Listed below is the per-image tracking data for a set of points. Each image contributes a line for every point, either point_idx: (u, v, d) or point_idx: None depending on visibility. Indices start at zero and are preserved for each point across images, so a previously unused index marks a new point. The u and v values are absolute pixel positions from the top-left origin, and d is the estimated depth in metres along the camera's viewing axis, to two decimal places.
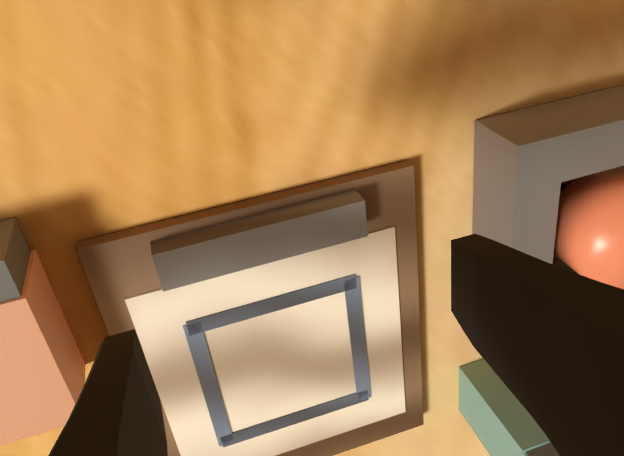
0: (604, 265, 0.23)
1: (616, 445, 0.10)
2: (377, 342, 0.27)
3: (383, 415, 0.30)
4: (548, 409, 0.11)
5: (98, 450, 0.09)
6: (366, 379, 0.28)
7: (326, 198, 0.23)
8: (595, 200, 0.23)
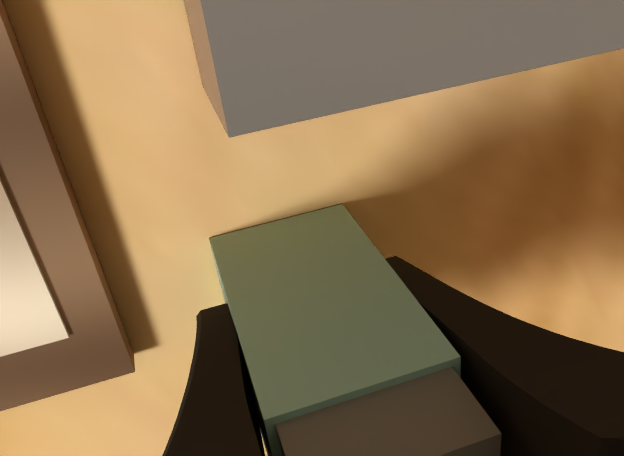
0: None
1: None
2: None
3: (7, 344, 0.12)
4: None
5: (229, 409, 0.09)
6: None
7: None
8: None
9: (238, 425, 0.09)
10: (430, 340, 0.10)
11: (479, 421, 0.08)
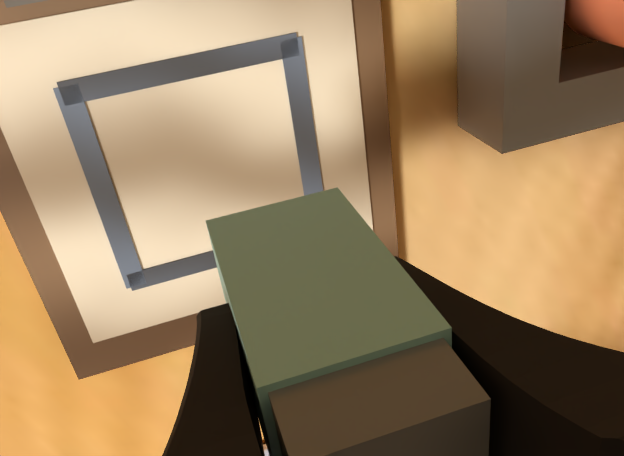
0: None
1: None
2: (332, 149, 0.21)
3: None
4: None
5: (229, 409, 0.09)
6: None
7: None
8: None
9: (238, 424, 0.09)
10: (422, 313, 0.10)
11: (469, 388, 0.08)
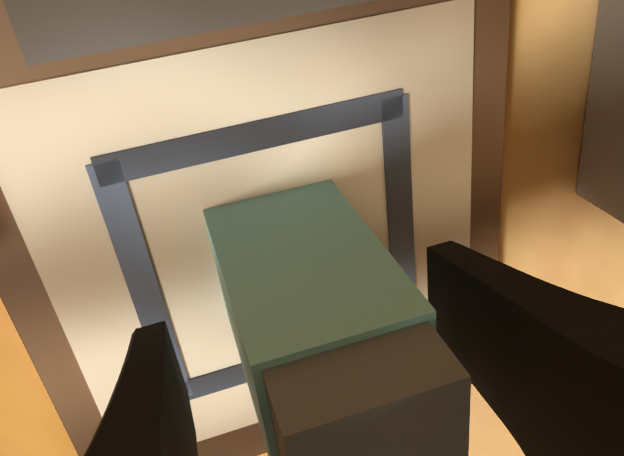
0: None
1: None
2: (431, 229, 0.16)
3: None
4: (520, 419, 0.11)
5: (140, 437, 0.09)
6: None
7: None
8: None
9: (147, 454, 0.08)
10: (408, 297, 0.10)
11: (451, 366, 0.09)
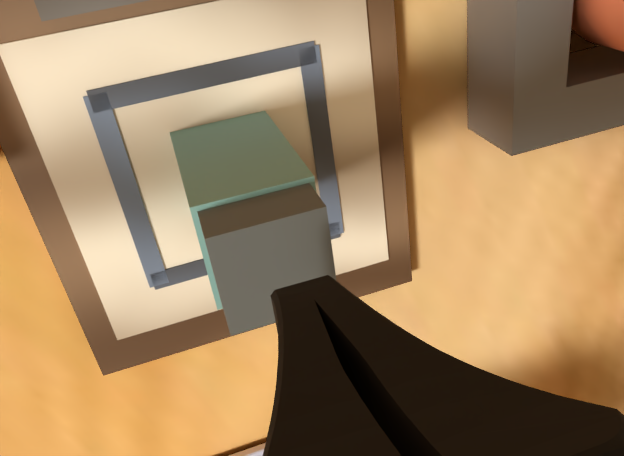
0: None
1: None
2: (347, 152, 0.21)
3: (360, 262, 0.24)
4: None
5: (328, 377, 0.09)
6: (336, 206, 0.22)
7: None
8: None
9: (339, 392, 0.09)
10: (298, 170, 0.15)
11: (316, 203, 0.14)
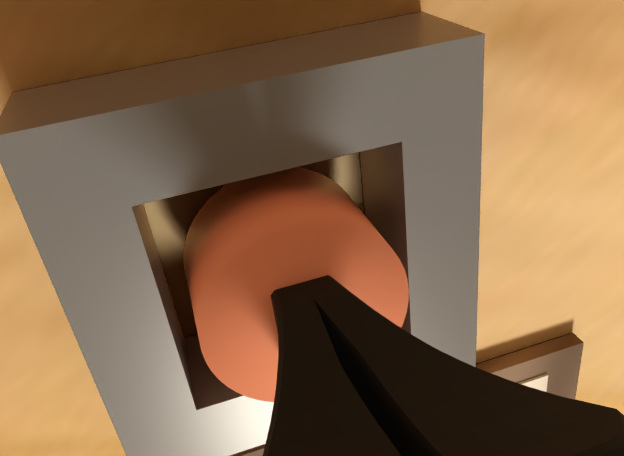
0: None
1: None
2: None
3: None
4: None
5: (328, 378, 0.09)
6: None
7: None
8: None
9: (339, 392, 0.09)
10: None
11: None
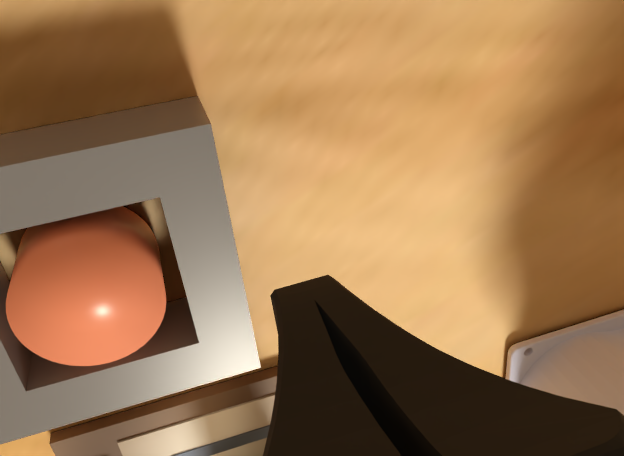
0: (113, 348, 0.20)
1: None
2: (254, 420, 0.27)
3: None
4: None
5: (328, 378, 0.09)
6: None
7: None
8: None
9: (339, 392, 0.09)
10: None
11: None
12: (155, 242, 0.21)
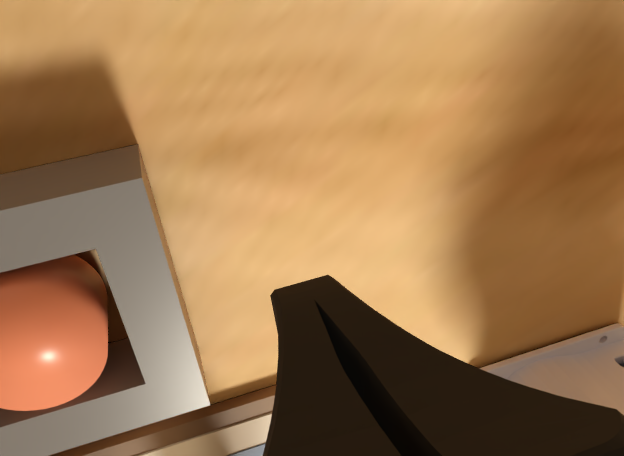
0: (58, 392, 0.20)
1: None
2: (213, 451, 0.28)
3: None
4: None
5: (328, 378, 0.09)
6: (258, 446, 0.29)
7: None
8: None
9: (339, 392, 0.09)
10: None
11: None
12: (101, 286, 0.22)
